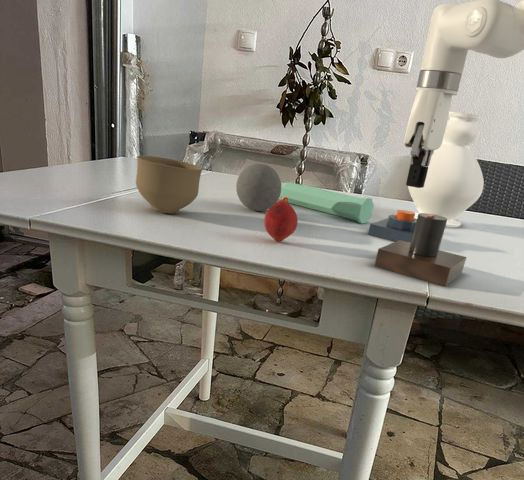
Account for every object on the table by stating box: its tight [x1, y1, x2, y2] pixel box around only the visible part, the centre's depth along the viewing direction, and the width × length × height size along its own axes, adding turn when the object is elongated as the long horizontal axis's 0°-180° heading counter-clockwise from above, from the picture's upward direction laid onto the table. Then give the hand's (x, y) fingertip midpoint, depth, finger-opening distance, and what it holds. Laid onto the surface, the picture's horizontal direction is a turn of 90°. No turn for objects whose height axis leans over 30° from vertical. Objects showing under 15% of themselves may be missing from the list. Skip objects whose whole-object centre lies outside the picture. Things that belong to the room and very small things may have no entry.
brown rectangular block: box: [374, 240, 467, 287], centre depth 85 cm, size 12×10×3 cm
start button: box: [395, 209, 416, 221], centre depth 105 cm, size 4×4×2 cm
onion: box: [264, 197, 299, 243], centre depth 89 cm, size 6×6×8 cm
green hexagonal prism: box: [279, 181, 374, 224], centre depth 122 cm, size 6×6×25 cm
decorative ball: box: [235, 163, 282, 212], centre depth 112 cm, size 10×10×10 cm
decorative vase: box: [407, 111, 485, 228], centre depth 123 cm, size 18×18×25 cm
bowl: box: [135, 155, 203, 215], centre depth 100 cm, size 13×13×10 cm
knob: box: [409, 213, 447, 257], centre depth 83 cm, size 5×5×6 cm
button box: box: [367, 214, 417, 243], centre depth 106 cm, size 11×9×4 cm
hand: (414, 186), depth 102 cm, fingers closed
